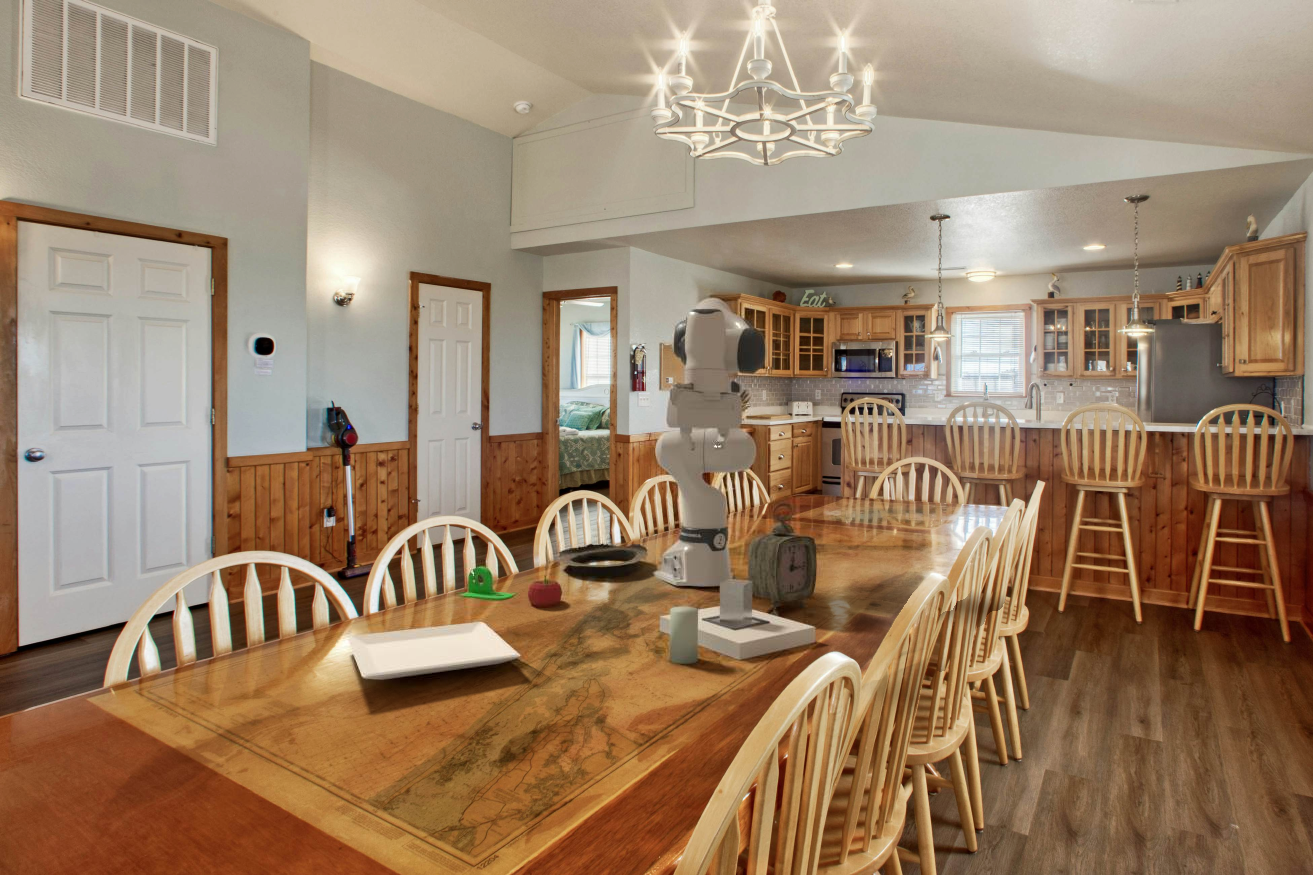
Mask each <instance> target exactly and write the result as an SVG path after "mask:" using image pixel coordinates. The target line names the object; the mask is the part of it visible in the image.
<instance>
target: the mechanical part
mask: <svg viewBox="0 0 1313 875" xmlns="http://www.w3.org/2000/svg"><path fill="white" fill-rule="evenodd" d="M472 570H473V572H474V576H473V574H472V573H471V571H470V572H469V574H468V578H467V579H468V580H467V581H468V583H467V584H468V586H467V587H468V591H466V592H464V593H460V594H459V595H458V597H461V598H462V597H463V598H469V599H470V598H471V599H472V598H473V599H479V600H488V601H504V600H509V599H511V598H512V597H514V596H516V595H517V593H511V592H499V591H498V592H497V591H495V590H494V588H493V586H494V584H493V579H494V578H493V573H492V572H491V570H490V569H489V567H486V566H481V565H480V566H477V567H474V568H472ZM479 576H481V577H482V583H480V582H479V579H478V577H479ZM473 580H475V583H474V582H473ZM469 592H470V593H469Z"/></svg>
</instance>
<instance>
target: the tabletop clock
mask: <svg viewBox="0 0 1313 875" xmlns="http://www.w3.org/2000/svg"><path fill="white" fill-rule="evenodd" d="M780 507H788V508H789V510H790V514H789V516H787V517H786V516H785V515H783V514H782V515H780V517H779V518H777V517H776V516H775V512H776V510H777V509H778V508H780ZM793 513H794V510H793V507H792V506H791V504H789V503H788V502H787V503H786V502H781V503H778V504H776V505H775V506H774V507H773V508H772V513H771V514H772V518H773V520H774V521H776V522H777V523H775V524H774V525H773V527H772V528H771V531H770V533H767V534H763V535H759V536H758V537H756V538H753V539H752V540H751V541H750V542H749V546H748V556H747V580H748V581H752V595H753V596H755V597H758V598H759V597H760V598H764V599H768V600H770V601H771V603H772V604H770V608H773V611H771V613H770V614H771V615H774V616H778V617H779V612H778V611H777V608H778V605H777V602H782V603H791V602H792V603H793V602H794V603H795V602H799V604H800V605H801V608H804V609H807V608H809V605H808V604H807V603H804V601H803V600H804V599H807V598H809V597H810V596H811V595H813V594H814V593H815V592H814V591H815V587H816V583H817V581H816V580H817V567H818V565H817V564H818V563H817V561H818V560H817V546H816V541H815V539H814V538H813V537H811V536H806V535H800V534H794V533H795V531H794V528H793V526H792V525H791V524H789V523H787V522H788V521H789V520H791V518H792V517H793Z"/></svg>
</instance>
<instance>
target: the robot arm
mask: <svg viewBox="0 0 1313 875" xmlns="http://www.w3.org/2000/svg"><path fill="white" fill-rule="evenodd" d="M670 341H671V348H672V351H673V354H674V355H675V356H676V358H679V359H680V362H681V363H682V364H683V365H684V383H682V382H675V384H673V385H672V386H671V388H670V389H669V397H668V401H667V406H666V407H667V409H666V424H667V426H668V428H669V429H672V428H673V429H676V430H671V431H666V432H663V433H662V434H661V435H660V436H659V437H658V439H657V440H656V443H655V449H654V453H655V458H656V462H657V463H658V465H659V466H660V467H661V468H662V469H663V470H664V471H666V472H667V473H668V474H669V475H670V476H671V477H672V478H673V480H674V481H675V483H676V484H677V486H678V488H679V491H680V495H681V500H682V516H683V518H682V519H683V521H682V526H681V527H677V528H676V529H677V530H678V531H676V533H679V535H678V540H677V541H676V542H675V543H674V544H672V545H671V546H670V547H669V548H668V549H667V550H666V551H665V552H663V555H662V558H661V568H660V569H658V570H655V571H652V575H653V576H654V577H656V578H658V579H659V580H662V581H664V582H665V583H668V584H672V585H674V586H678V587H679V586H681V587H683V586H685V587H686V586H691V587H720V582H723V581H725V580H727V579H734V574H733V573H732V571H731V561H730V560H731V558H730V548H729V546H728V544H727V542H728V541H729V529H728V526H727V502H728V501H727V498H726V495H725V494H724V492H723V491H722V490H720V489H719V488H717V487H715V486H713V485H710V484H708V483H707V482H706V481H705V480H704V478H703V474H706V473H715V474H716V473H720V474H723V473H724V474H725V473H727V474H729V473H730V474H732V473H737V472H743V471H747V470H749V469H750V468H751V467H752V465H753V464H754V462H755V460H756V457H757V447H756V446H757V445H756V443H755V440H754V438H753V437H752V435H751V434H749V432H746V431H745V430H743V429H741V428H740V427H741V425H742V423H743V401H742V398H741V396H740V395H741V394H742V392H743V385H742V383H739V382H738V381H736V380H734V379H733V378H731V377H730V376H729V373H740V374H750V375H752V374H753V375H754V374H755V373H757V372H758V371H760V369H761V368H762V367H764V365H765V362H766V359H767V350H768V348H767V343H766V339H765V336H764V334H763V333H762V332H761V331H760V330H759V329H757V328H756V327H754V326H753V325H752V324H751V323H750V321H749V320H748V319H746V318H744V317H741V316H740V315H738V314H735V312H732V310H731V308H730V307H729V305H728V304H727V303H726V302H725V301H724V300H722V299H720V298H717V297H708V298H705V299H703V300H701V301H700V302H698V303H697V305H696V306H695V307H694V309H691V310H689V311H688V315H687V316H686V319H684V320H682V321H680V322H678V323H677V324H676V325H675V327H674V328H673V332H672V335H671V340H670Z"/></svg>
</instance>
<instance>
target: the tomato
mask: <svg viewBox="0 0 1313 875" xmlns="http://www.w3.org/2000/svg"><path fill="white" fill-rule="evenodd" d="M562 595H563V590H562V587H561V584H560V583H559V582H558V581H556V580H550V579H548V578H547V575H546V574H544V579H542V580H535V581H533V582H532V583H531V584H530V585H529V587H528V592H527V597H528V602H530V604H531V605H532V606H534V607H537V608H548V607H549V608H550V607H555V606H556V605H558V604H559V603H560V602H561V599H562Z"/></svg>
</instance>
